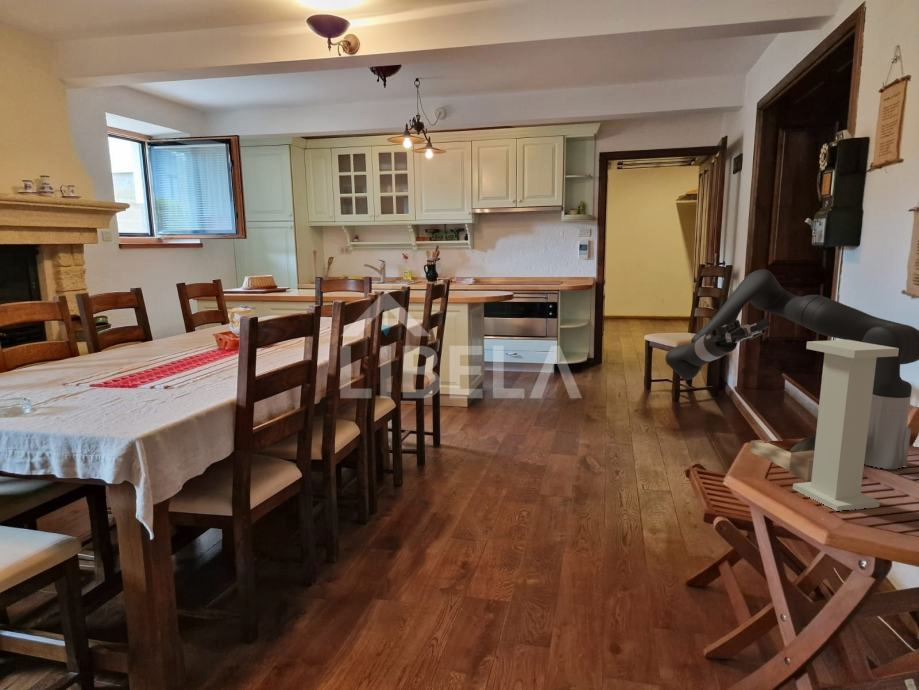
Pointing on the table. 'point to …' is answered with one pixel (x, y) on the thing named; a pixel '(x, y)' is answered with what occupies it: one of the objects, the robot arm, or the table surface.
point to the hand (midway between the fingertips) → (753, 322)
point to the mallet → (786, 459)
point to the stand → (843, 423)
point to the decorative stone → (805, 445)
